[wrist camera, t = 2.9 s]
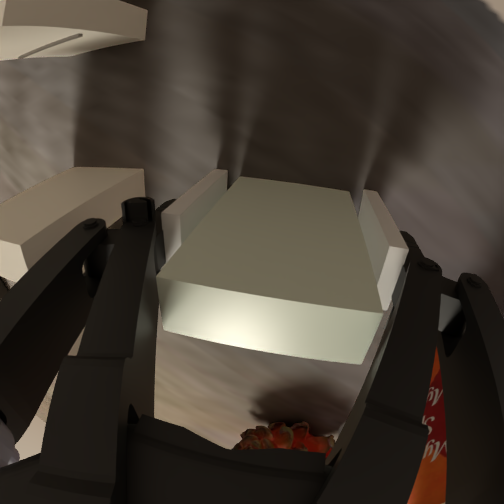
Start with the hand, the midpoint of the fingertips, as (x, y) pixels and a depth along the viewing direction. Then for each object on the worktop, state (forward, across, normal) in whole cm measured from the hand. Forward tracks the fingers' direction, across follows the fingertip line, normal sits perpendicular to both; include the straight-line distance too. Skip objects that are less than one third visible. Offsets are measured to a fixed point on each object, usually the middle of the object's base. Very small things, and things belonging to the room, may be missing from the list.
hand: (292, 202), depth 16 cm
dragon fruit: (+1, +4, -24) cm, 24 cm away
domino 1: (0, -12, +10) cm, 16 cm away
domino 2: (0, -12, 0) cm, 12 cm away
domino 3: (0, 0, 0) cm, 0 cm away
